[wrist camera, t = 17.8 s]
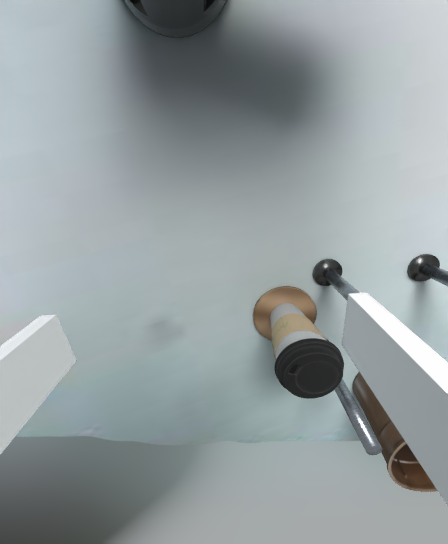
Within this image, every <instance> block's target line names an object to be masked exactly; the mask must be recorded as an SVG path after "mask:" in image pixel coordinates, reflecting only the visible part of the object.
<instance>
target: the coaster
mask: <svg viewBox="0 0 448 544" xmlns="http://www.w3.org/2000/svg"><path fill="white" fill-rule="evenodd" d="M282 303H290V304H293V305H295V306H297V307H298V308H299V309H300V310H301V312H302V313H303V314H304V315H305V316H306V317H307V318H308V319H309V320H310V321H311V322H312V323H313V324H314V322H315V320H316V307H315V304H314V302H313V300H312V299H311V298H310V296H309V295H308V294H307V293H306V292H304V291H303V290H301V289H298V288H295V287H290V286H283V287H278V288H274V289H272V290H270V291H268V292H266V293H265V294H264V295H263V296H262V297H261V298H260V299H259V300H258V301H257V303H256V305H255V308H254V313H253V317H254V323H255V326H256V328H257V330H258V331H259V332H260V334H262V335H263V336H264V337H265V338H267V339H269V340H272V328H271V321H270V316H271V313H272V311H273V309H274V308H275V307H276V306H277V305H279V304H282Z"/></svg>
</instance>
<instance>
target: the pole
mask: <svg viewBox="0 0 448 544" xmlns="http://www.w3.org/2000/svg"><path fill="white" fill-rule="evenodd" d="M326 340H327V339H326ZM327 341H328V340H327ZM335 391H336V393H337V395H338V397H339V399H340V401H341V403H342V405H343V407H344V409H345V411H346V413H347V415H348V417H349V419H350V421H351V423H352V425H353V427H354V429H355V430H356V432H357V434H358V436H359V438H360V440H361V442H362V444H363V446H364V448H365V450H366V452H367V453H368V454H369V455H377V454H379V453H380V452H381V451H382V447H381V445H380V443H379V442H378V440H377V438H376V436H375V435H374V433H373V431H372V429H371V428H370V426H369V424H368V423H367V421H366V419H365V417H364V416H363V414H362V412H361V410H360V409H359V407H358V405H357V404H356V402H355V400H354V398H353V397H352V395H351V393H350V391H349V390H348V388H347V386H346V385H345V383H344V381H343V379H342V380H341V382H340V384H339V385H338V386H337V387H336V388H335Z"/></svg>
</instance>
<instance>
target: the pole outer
mask: <svg viewBox="0 0 448 544" xmlns="http://www.w3.org/2000/svg"><path fill="white" fill-rule="evenodd" d="M439 266H440V263H439V260H438V258H437V257H435V256H433V255H430V254H423V255H420V256H418V257H416V258H414V259H413V260H412V261H411V263H410V264H409V266H408V275H409V277H410V278H412V279H414V280H416V281H426V280H428V279H430V278H432V279H434V280H436V281H438V282H440V283H442V284H444V285H446V286H448V272H447V271H445V270H443V269H440V268H439Z"/></svg>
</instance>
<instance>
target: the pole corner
mask: <svg viewBox="0 0 448 544" xmlns="http://www.w3.org/2000/svg"><path fill="white" fill-rule="evenodd" d="M341 275H342V267H341V265H340V264H339V263H338V262H337V261H335V260H333V259H325V260H322V261H320V262H319V263H318V264H317V265H316V266H315V268H314V270H313V277H314V279H315V281H316V282H317V283H318V284H320V285H323V286H329V285H332V286H333V287H334V288H335V289H336V290H337V291H338V292H339V293H340V294H341V295H342V296H343V297H344V298H345V299H346V300H348V294H352V293H360V292H359V291H357V290H356V289H355V288H354V287H353V286H351V285H350V284H349V283H348V282H347V281H346V280H344V279H343V278H342V277H341Z"/></svg>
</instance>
